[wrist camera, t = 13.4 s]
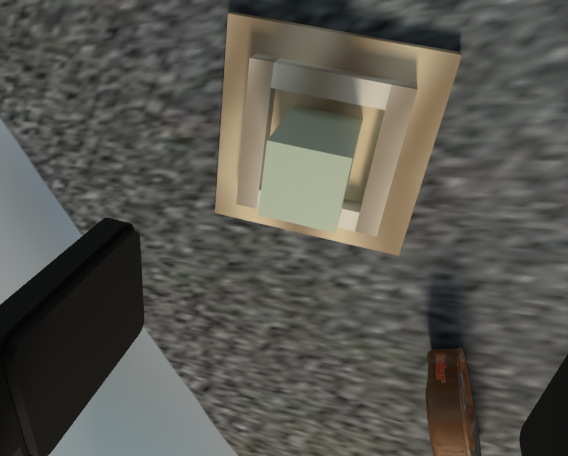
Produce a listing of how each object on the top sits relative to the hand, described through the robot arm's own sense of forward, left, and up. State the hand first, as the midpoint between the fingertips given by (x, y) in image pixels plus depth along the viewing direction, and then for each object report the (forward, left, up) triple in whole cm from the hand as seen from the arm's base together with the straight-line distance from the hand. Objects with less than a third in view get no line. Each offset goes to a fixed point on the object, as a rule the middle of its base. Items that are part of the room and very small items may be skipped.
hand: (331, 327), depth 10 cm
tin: (-12, +24, -23) cm, 35 cm away
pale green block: (+3, +4, -22) cm, 22 cm away
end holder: (+3, +4, -23) cm, 23 cm away
